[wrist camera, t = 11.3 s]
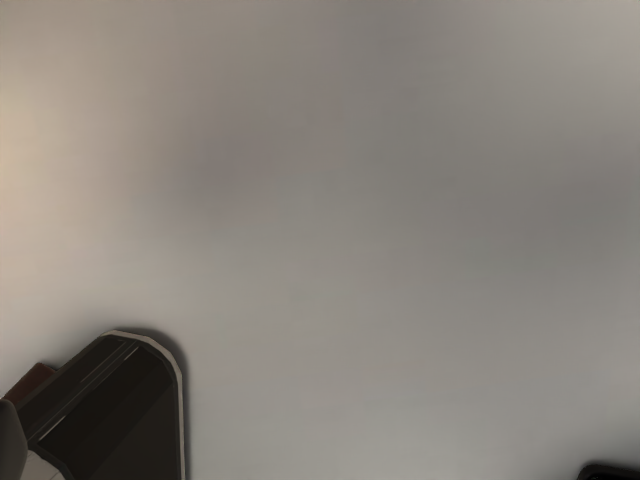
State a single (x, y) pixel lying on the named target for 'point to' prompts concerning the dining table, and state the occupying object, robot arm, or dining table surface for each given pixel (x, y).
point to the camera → (107, 415)
